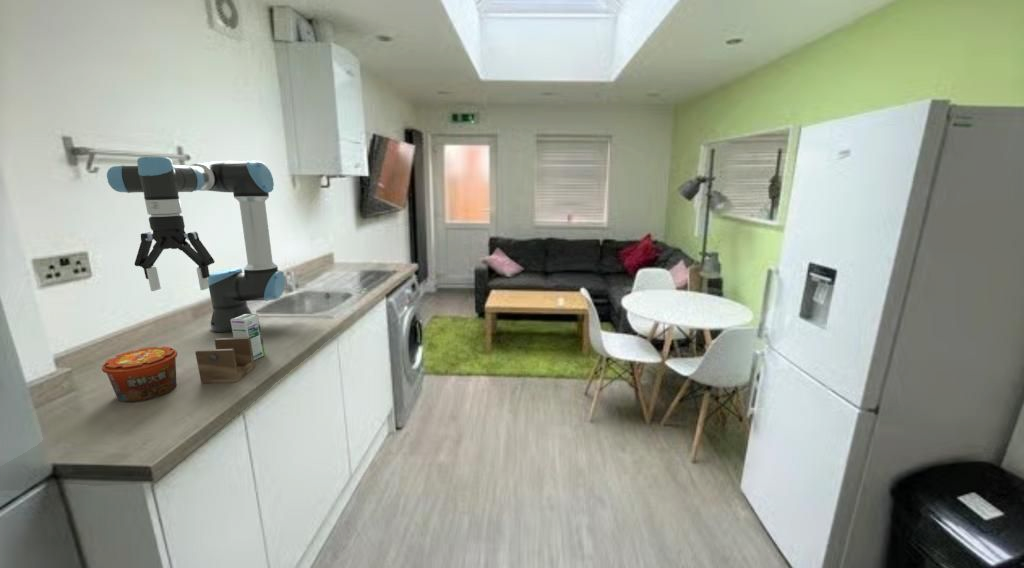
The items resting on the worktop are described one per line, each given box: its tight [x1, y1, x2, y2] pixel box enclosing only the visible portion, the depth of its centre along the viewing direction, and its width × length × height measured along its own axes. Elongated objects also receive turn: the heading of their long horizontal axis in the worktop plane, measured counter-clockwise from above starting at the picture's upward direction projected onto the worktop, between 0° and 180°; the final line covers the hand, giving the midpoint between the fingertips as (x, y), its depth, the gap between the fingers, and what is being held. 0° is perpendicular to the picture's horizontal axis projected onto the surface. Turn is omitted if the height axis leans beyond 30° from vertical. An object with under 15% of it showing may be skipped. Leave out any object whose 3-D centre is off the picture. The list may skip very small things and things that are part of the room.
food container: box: [101, 346, 178, 403], centre depth 120 cm, size 16×16×11 cm
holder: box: [194, 337, 256, 384], centre depth 130 cm, size 12×10×10 cm
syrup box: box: [231, 313, 266, 361], centre depth 142 cm, size 6×6×14 cm
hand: (180, 289), depth 124 cm, fingers open, 13 cm apart
